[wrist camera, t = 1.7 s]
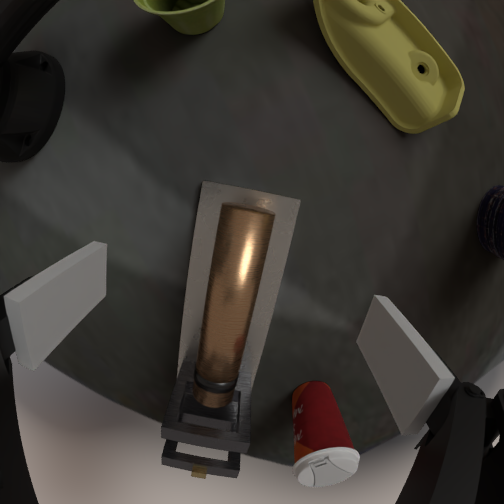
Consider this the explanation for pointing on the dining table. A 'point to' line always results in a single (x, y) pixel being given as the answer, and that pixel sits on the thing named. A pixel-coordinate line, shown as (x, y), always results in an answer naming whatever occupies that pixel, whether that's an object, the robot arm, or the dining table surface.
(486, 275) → the dining table surface
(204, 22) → the plant pot
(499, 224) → the storage jar
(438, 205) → the dining table surface
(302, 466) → the paper cup
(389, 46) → the plastic component
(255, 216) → the copper tube
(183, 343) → the rail
